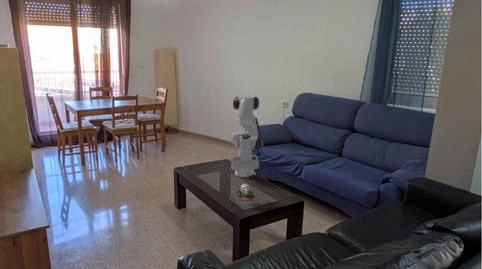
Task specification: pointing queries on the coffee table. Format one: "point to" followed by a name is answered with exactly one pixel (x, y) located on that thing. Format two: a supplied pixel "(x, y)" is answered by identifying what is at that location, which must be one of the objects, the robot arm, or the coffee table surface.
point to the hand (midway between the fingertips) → (245, 174)
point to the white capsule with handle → (244, 190)
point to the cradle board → (245, 197)
